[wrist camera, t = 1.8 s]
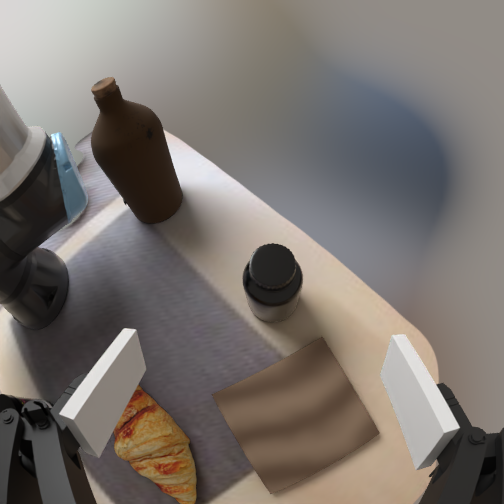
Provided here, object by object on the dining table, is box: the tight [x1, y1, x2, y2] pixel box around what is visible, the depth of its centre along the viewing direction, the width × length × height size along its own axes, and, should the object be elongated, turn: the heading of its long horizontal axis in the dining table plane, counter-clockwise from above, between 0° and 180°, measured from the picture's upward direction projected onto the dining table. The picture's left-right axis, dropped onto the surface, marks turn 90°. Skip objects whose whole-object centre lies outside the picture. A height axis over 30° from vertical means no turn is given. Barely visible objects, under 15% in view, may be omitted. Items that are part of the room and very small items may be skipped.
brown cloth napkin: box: [212, 337, 379, 494], centre depth 31 cm, size 16×16×1 cm
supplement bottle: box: [243, 243, 303, 322], centre depth 34 cm, size 7×7×12 cm
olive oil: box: [91, 77, 183, 223], centre depth 37 cm, size 11×11×25 cm
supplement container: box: [0, 394, 54, 418], centre depth 26 cm, size 7×7×10 cm
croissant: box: [113, 384, 197, 504], centre depth 28 cm, size 21×10×8 cm, turn 31°
